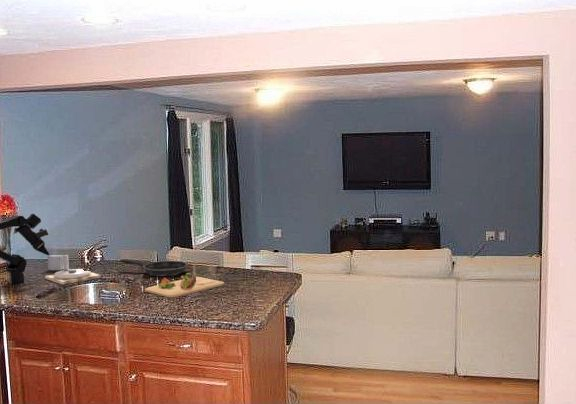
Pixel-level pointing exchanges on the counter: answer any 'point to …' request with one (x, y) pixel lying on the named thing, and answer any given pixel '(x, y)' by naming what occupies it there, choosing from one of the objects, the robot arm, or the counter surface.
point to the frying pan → (160, 267)
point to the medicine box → (55, 262)
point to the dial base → (66, 281)
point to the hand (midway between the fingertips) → (48, 254)
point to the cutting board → (183, 286)
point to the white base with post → (70, 271)
